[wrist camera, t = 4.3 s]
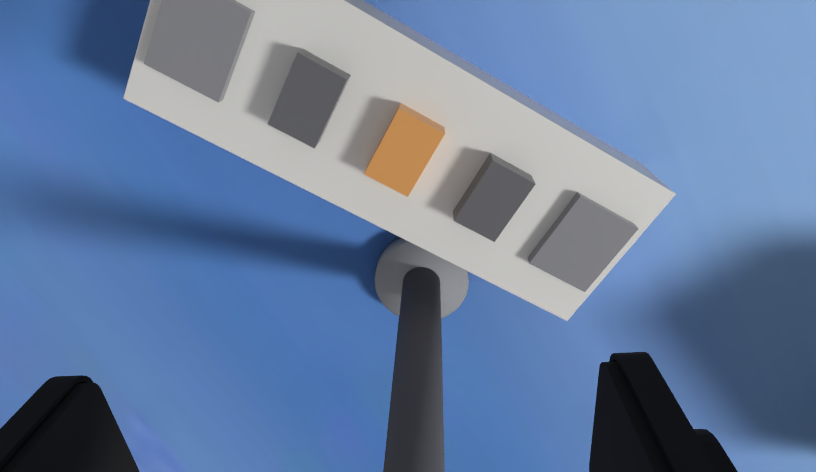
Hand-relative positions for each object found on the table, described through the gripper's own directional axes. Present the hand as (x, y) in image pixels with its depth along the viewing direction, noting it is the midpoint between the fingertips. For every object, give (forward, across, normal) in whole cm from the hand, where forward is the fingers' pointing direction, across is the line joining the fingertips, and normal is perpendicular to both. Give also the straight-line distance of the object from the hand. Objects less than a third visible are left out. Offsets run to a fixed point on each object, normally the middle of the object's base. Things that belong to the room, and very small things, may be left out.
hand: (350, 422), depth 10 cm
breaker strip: (+22, 0, 0) cm, 22 cm away
